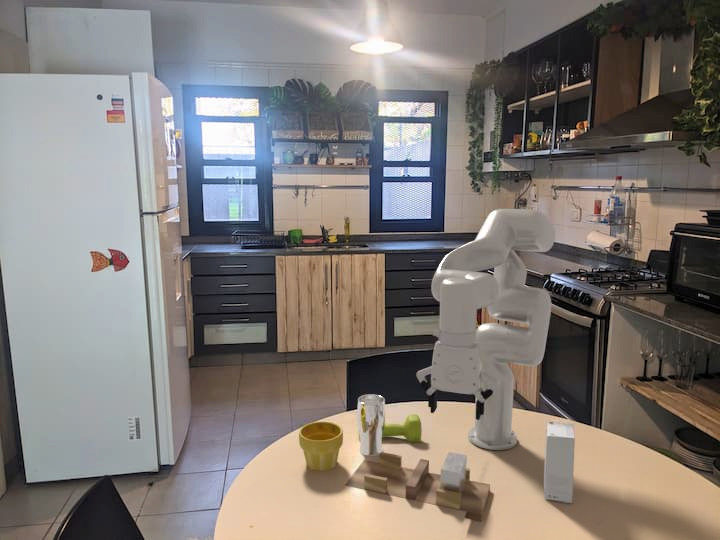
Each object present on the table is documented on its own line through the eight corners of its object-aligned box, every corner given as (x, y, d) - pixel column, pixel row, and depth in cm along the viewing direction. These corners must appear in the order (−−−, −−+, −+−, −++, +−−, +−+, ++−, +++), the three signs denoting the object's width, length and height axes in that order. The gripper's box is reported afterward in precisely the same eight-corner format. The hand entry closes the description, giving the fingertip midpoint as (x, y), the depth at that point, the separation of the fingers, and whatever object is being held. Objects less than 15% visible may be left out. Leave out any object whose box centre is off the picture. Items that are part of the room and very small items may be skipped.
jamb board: (363, 465, 136) (364, 448, 135) (489, 490, 125) (490, 472, 125) (344, 491, 125) (344, 472, 124) (481, 521, 114) (481, 501, 114)
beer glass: (382, 464, 137) (383, 406, 134) (354, 461, 138) (354, 403, 135) (386, 450, 143) (387, 395, 141) (360, 448, 145) (360, 392, 142)
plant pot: (302, 482, 129) (301, 442, 127) (297, 460, 139) (296, 422, 137) (346, 477, 131) (346, 438, 129) (339, 455, 141) (338, 419, 139)
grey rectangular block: (447, 480, 126) (448, 452, 125) (465, 484, 125) (466, 455, 124) (440, 500, 119) (440, 469, 118) (458, 503, 118) (459, 473, 117)
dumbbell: (358, 449, 144) (358, 423, 143) (358, 435, 152) (358, 410, 151) (422, 450, 144) (423, 423, 143) (419, 435, 152) (419, 410, 151)
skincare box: (572, 504, 120) (577, 439, 118) (542, 499, 122) (546, 435, 119) (570, 484, 128) (574, 423, 126) (542, 479, 130) (546, 419, 127)
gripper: (412, 338, 117) (412, 415, 120) (497, 347, 111) (494, 427, 114) (421, 328, 124) (420, 401, 127) (502, 336, 118) (499, 412, 121)
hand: (455, 413), depth 120 cm, fingers open, 9 cm apart
